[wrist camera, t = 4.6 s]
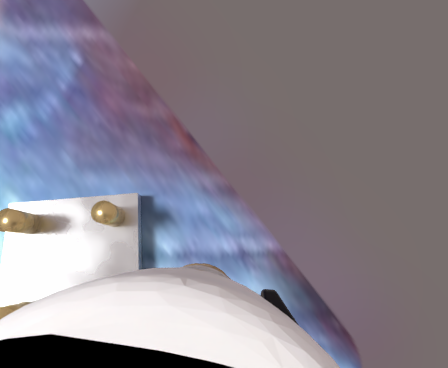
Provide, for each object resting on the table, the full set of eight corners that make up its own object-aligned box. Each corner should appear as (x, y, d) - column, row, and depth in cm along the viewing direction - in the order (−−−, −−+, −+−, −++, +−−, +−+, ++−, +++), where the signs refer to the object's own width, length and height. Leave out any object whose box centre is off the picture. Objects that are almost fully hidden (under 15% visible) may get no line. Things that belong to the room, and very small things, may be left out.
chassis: (142, 324, 20) (128, 338, 16) (2, 340, 19) (-42, 358, 16) (140, 195, 22) (128, 184, 19) (17, 205, 22) (-18, 196, 18)
